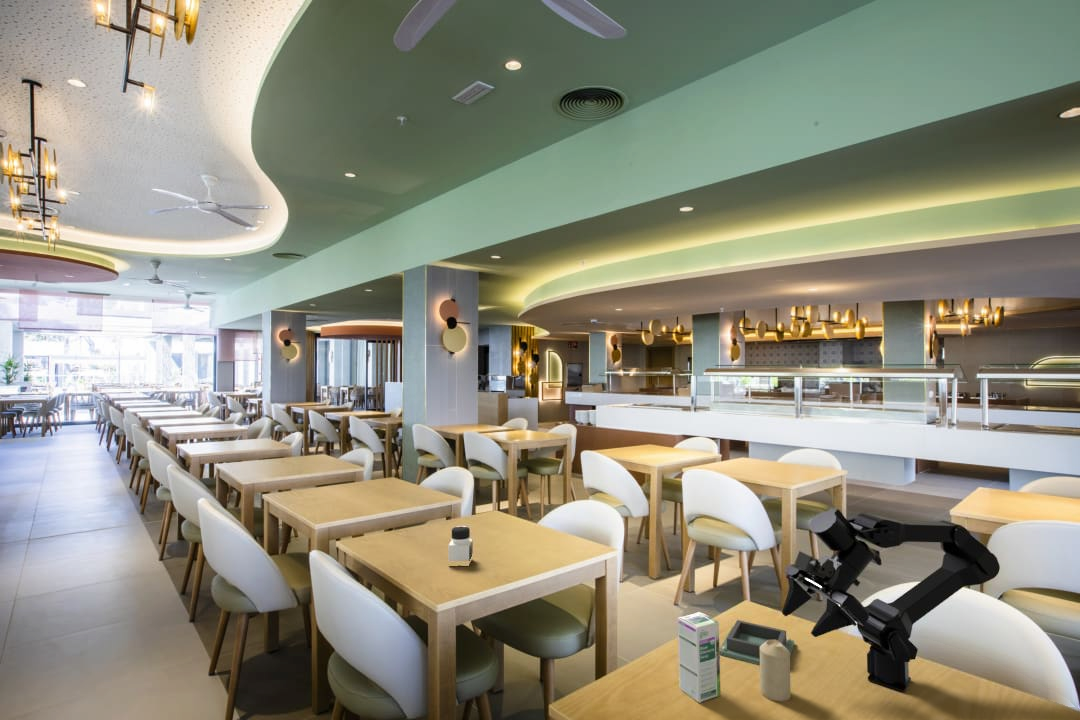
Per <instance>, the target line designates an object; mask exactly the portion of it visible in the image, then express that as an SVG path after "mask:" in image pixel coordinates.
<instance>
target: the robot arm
mask: <svg viewBox="0 0 1080 720" xmlns="http://www.w3.org/2000/svg"><path fill="white" fill-rule="evenodd" d="M809 528H810V529H809V530H810V531H811V532H812V533H813V534H814V535H815V537H817V538H818V539H819V540H820V541H821V542H822V543H823V544H824V545H825V546H826V547H827V548H828V549H829V550H830V551H833V552H834V553H833V554H832V555H831V556H830V557H828V556H820V558H819V559H818V558H815V557H814V556H812V555H809V554H807V553H805V552H803V551H801V550H800V551H798V554H797V556H796V559H795V561H794V563H793V564H788V566H787V567H786V569H784V570H783V572H784V573H785V574H786V575H785V578H786V579H787V582H788V592H787V595H786V598H785V601H784V604H783V607H782V611H781V614H782V615H783V616H784V617H788V616H790V615H791V614H792V613H794V612H795V611H797V610H798V609H799V608H800V607H802V606H803V605H805V604H806V603H807V602H809V601H810V600H812V598H813V597H812V596H811V595H813V594H815V593H817V594H819V595H821V597H822V596H823V598H826V607H825V611H824V612H823V614H822V615H821V617H820V618H819V619H818V620H817V622H816V623H815V624H814V626H813V628H812V630H811V632H810V634H811V636H813V637H815V638H817V637H820V636H822V635H825V634H827V633H831V632H833V631H837V630H839V629H843V628H845V627H849V626H854V627H857V630H858V632H859V634H860V635H861V637H862V639H863V641H864V642H865V643H867V644H869V645H870V646H869V650H868V652H866V672H867V673H868V674H869V675H868V676H867V681H870V682H872V683H875V684H878V685H881V686H884V687H887V688H890V689H893V690H896V691H899V692H901V693H905V692H906V690H907V689H908V687H909V685H910V684H911V681H912V678H911V677H910V676H909V675H910V674H909V673H910V672H909V663H910V662H911V660H913V661H914V660H916V659H917V658H916V657H917V653H918V650H919V649H918V647H917V646H916V645H914V644H913V642H912V641H910V638H911V636H912V631H913V625H914V624H915V623H917V622H918V621H919V620H921V618H923V617H925V616H926V615H927V614H928V613H930V612H931V611H932V610H934V609H936V607H938V606H939V605H941V604H943V603H944V602H945V601H946V600H948V599H949V598H950V597H951V596H954V594H956V593H958V592H959V591H960V590H961V589H962V588H966V587H971V586H978V585H983V584H985V583H988V582H989V581H991V580H993V579H995V577H997V576H998V575H999V573H1000V569H1001V565H1000V563H999V560H998V558H997V556H996V555H995V554H994V553H993V552H991V551H990V550H989V548H988V547H987V546H985V545H984V544H983V543H982V542H980V541H979V540H978V539H977V538H975V537H974V536H973V535H972V534H971V533H970V532H969V530H968V529H967V528H966V527H965V526H963V525H962V524H958V523H956V522H951V521H948V520H938V521H936V520H935V521H933V520H902V519H901V520H899V519H893V518H889V517H884V516H880V515H876V514H872V513H867V512H862V513H859V514H857V516H856V517H853V518H849V519H847V518H846V517H845V516H844V514H843V513H842V511H841V510H840V509H838V508H835V507H834V506H833V507H832V506H831V507H829V509H828V510H826V511H821V512H820V513H818V514H817V515H814V516H813V517H812V519H811V520H810V522H809ZM867 543H868V544H871V545H874V546H876V547H879V548H881V549H889V548H894V547H895V548H896V547H900V546H901V545H902V544H903V543H940V549H941V550H942V551H943V553H944V555H943V558H942V564H941V567H939V568H938V569H936V570H935V571H934V572H932V573H931V574H929V575H928V576H927V577H925V578H924V579H923V580H921V581H919V583H917V584H916V585H914V586H912V588H910V589H909V590H908V591H906V592H905V593H903V594H902V595H900V596H899V597H898V598H897V599H895V600H894V601H892V602H889V603H887V602H885V601H883V600H881V599H879V598H875V599H873V600H872V601H871V602H870V603H869V604H867V605H866V606H864V605H863V604H862V603H861V602H860V601H859V600H858V598H856V597H855V596H854V595H852V594H850V593H849V592H848V591H849V589H850V588H851V587H852V585H853V586H855V587H858V586H859V585H860V584H861V582H860V581H859V580H858V578H859V576H860V575H861V574H862V573H864V570H865V569H866V568H867V566H868V565H869V564H870V563H873V564H875V565H876V566H882V559H881V556H880V555H881V553H880V551H879V550H877V549H874V548H872V547H870V546H869V545H868V544H867Z"/></svg>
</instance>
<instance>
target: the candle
mask: <svg viewBox="0 0 1080 720" xmlns="http://www.w3.org/2000/svg"><path fill="white" fill-rule="evenodd" d="M759 689H760V693H761V694H762V696H764V697H765V698H767V699H768V700H771V701H775V702H787V701H789V700H790V699H791V656H790V652H789V650H788V649H787V648H786V647H785V646H784V645H783V644H781V643H780V642H779V641H777V640H768V641H766V642H765V643H763V644H762V645H761V646H760V665H759Z"/></svg>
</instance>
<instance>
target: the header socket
mask: <svg viewBox="0 0 1080 720" xmlns="http://www.w3.org/2000/svg"><path fill="white" fill-rule="evenodd" d="M768 640H777V641H779V642H780V643H781V644H783V645H784V646H785V647H786V648H787V649H788V650H789V652H790V657H791V656H792V653H793V651H794V650H793V649H794V647H793V646H795V640H794V639H792V638H790V637H787V630H785V629H780V628H776V627H771V626H766V625H762V624H758V623H752V622H747V621H744V620H739V619H737V620H736V622H735V623H734V625H733V626H732V627H731V629H730V630H729V632H728V633H727V636H726V637H725V639H724V640H723V642H722V644H721V645H720V646H719V653H720V656H724V657H728V658H732V659H735V660H739V661H744V662H747V663H752V664H755V665H759V666H760V646H761V645H762V644H763V643H765V642H766V641H768Z"/></svg>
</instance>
